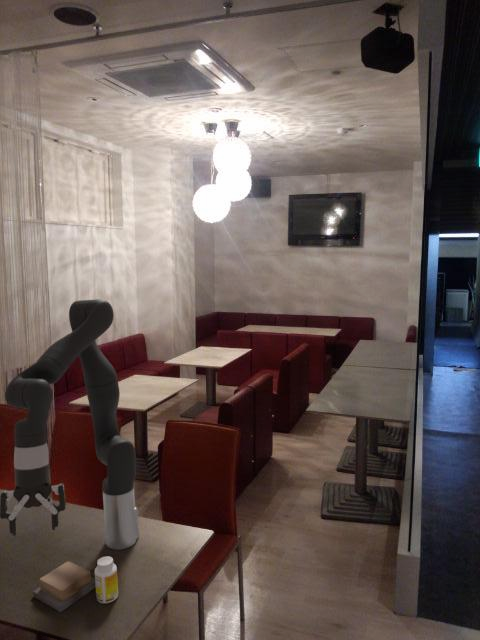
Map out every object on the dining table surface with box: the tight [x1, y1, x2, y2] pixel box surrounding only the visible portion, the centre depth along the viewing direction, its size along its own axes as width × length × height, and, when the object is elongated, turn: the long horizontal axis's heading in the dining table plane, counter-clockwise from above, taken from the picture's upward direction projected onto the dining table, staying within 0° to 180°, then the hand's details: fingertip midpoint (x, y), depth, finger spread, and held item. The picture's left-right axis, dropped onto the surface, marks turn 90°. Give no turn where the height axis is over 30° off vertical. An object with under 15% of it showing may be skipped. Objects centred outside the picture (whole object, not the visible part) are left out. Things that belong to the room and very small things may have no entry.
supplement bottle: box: [94, 555, 119, 604], centre depth 131 cm, size 6×6×10 cm
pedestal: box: [32, 560, 96, 613], centre depth 134 cm, size 12×11×4 cm
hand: (34, 531), depth 121 cm, fingers open, 8 cm apart
